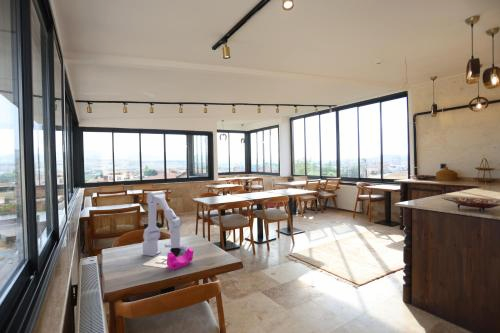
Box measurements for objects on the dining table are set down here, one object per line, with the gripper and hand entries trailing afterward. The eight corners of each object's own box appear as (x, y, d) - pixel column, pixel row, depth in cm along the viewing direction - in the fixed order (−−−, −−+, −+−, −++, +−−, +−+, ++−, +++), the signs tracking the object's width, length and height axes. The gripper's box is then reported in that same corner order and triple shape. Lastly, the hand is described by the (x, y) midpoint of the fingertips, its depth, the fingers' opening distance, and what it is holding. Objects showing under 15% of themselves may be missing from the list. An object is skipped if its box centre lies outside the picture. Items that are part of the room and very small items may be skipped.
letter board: (142, 264, 169) (142, 264, 169) (159, 255, 184) (159, 255, 184) (165, 268, 163) (165, 267, 163) (180, 258, 178) (180, 258, 178)
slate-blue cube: (175, 253, 187) (175, 246, 187) (180, 251, 192) (179, 244, 191) (182, 254, 185) (181, 247, 185) (186, 252, 190) (185, 244, 190)
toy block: (170, 270, 160) (172, 259, 158) (166, 263, 165) (167, 253, 162) (194, 263, 170) (195, 252, 168) (189, 257, 174) (190, 247, 172)
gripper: (161, 238, 168) (162, 260, 168) (181, 240, 163) (182, 263, 163) (168, 235, 174) (169, 256, 175) (188, 237, 169) (188, 259, 170)
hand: (176, 259), depth 170 cm, fingers closed
